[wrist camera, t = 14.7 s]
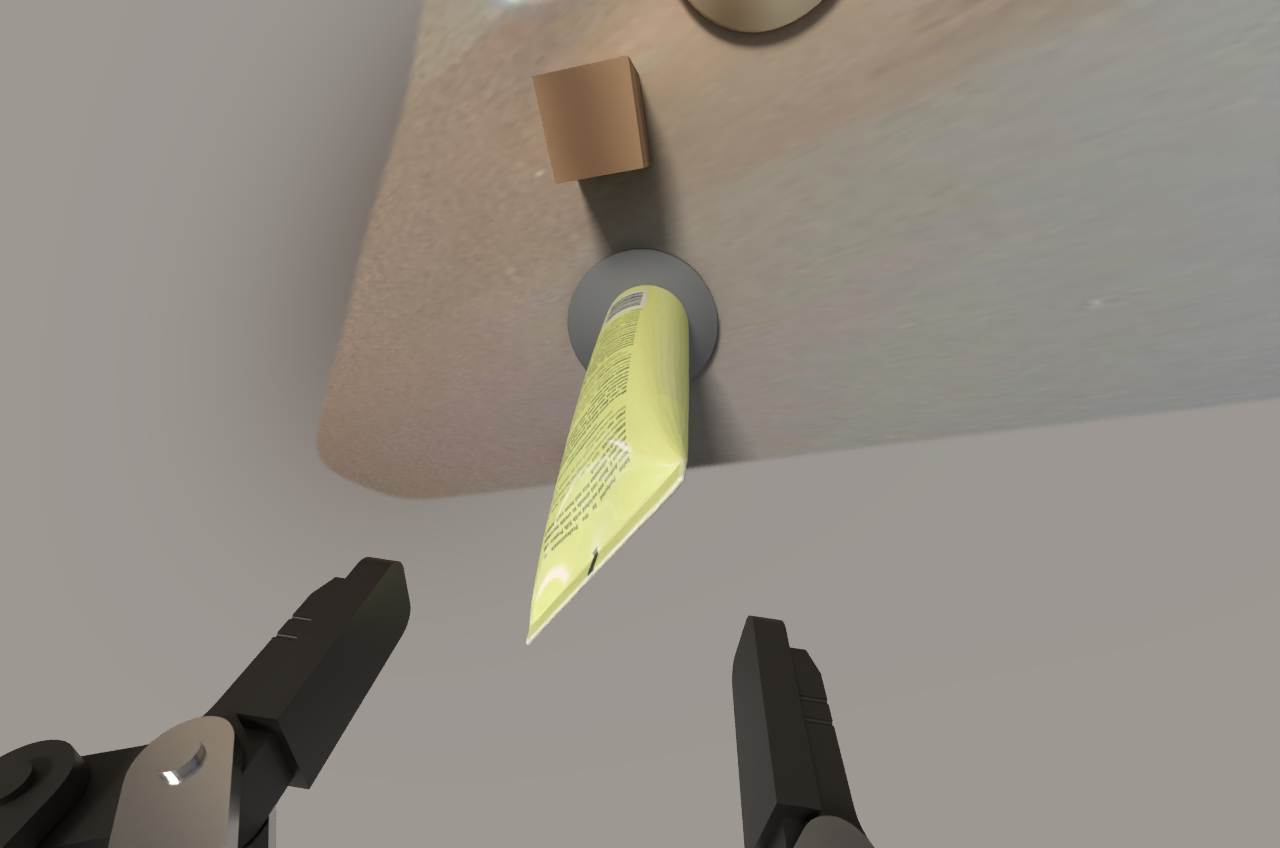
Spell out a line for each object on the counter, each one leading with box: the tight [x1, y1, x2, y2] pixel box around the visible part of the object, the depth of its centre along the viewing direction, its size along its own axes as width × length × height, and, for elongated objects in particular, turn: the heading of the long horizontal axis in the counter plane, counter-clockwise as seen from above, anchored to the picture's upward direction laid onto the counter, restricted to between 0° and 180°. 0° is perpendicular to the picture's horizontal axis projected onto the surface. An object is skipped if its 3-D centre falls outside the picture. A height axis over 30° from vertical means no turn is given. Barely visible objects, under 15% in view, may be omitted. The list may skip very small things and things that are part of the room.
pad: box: [568, 248, 718, 381], centre depth 29 cm, size 9×9×1 cm
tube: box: [526, 285, 689, 645], centre depth 21 cm, size 6×5×20 cm
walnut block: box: [532, 56, 651, 184], centre depth 23 cm, size 4×4×5 cm
